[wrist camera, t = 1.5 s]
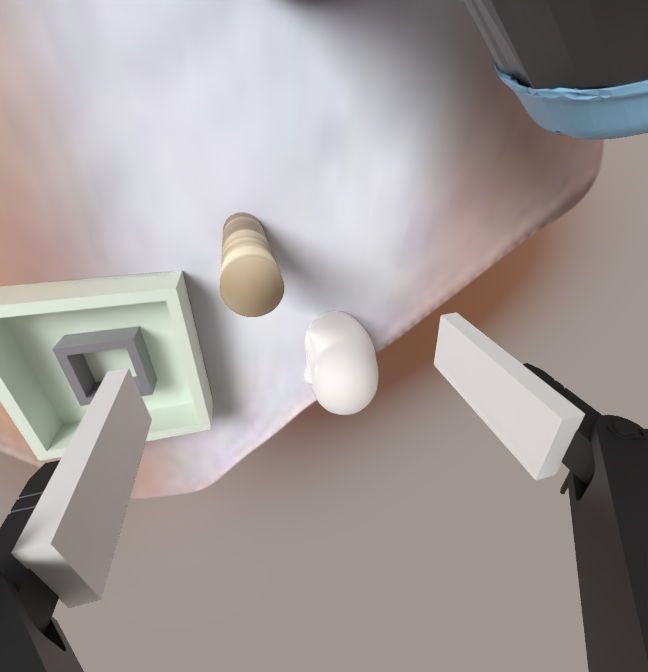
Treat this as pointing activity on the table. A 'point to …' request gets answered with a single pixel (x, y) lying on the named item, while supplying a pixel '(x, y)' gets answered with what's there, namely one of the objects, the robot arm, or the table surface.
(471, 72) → the table surface
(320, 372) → the figurine
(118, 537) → the robot arm
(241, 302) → the beige wooden dowel
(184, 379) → the green square socket tray
